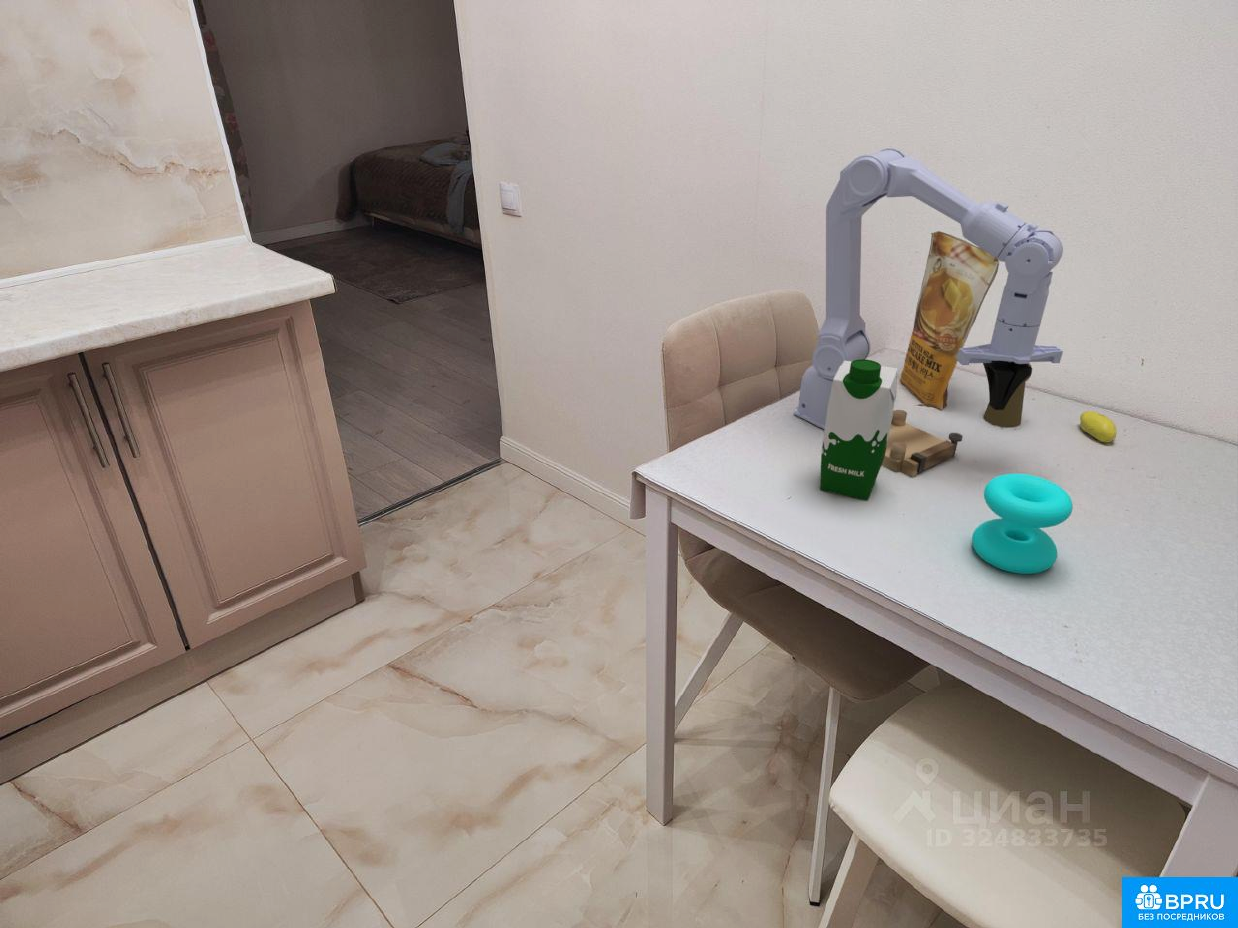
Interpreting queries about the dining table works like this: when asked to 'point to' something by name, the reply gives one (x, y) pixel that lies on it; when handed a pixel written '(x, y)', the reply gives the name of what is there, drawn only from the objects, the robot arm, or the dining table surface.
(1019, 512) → the donuts
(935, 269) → the pancake mix bag
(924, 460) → the hinged leg
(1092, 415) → the lemon
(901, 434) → the stool seat
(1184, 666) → the dining table surface
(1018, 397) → the cork
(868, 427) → the milk carton
